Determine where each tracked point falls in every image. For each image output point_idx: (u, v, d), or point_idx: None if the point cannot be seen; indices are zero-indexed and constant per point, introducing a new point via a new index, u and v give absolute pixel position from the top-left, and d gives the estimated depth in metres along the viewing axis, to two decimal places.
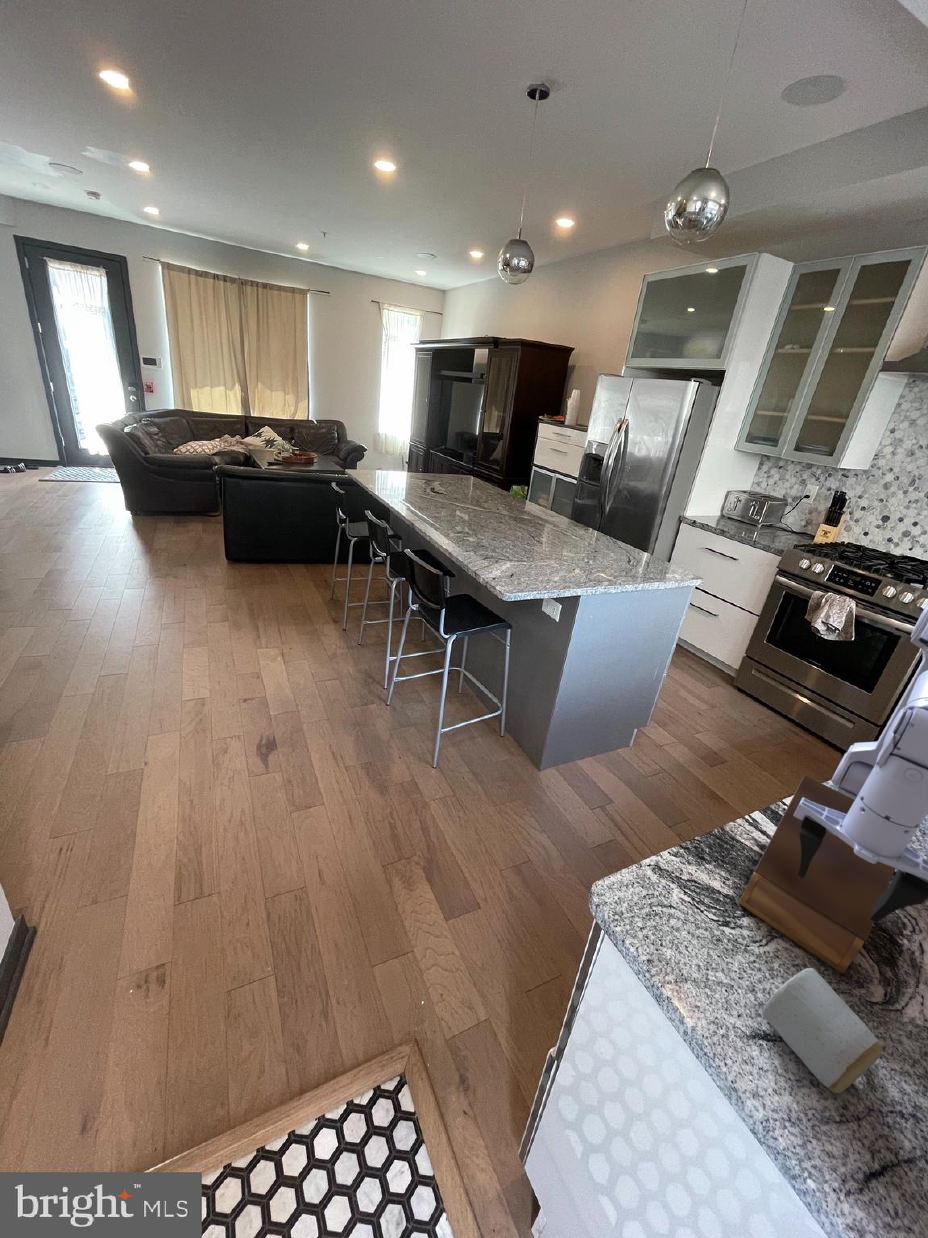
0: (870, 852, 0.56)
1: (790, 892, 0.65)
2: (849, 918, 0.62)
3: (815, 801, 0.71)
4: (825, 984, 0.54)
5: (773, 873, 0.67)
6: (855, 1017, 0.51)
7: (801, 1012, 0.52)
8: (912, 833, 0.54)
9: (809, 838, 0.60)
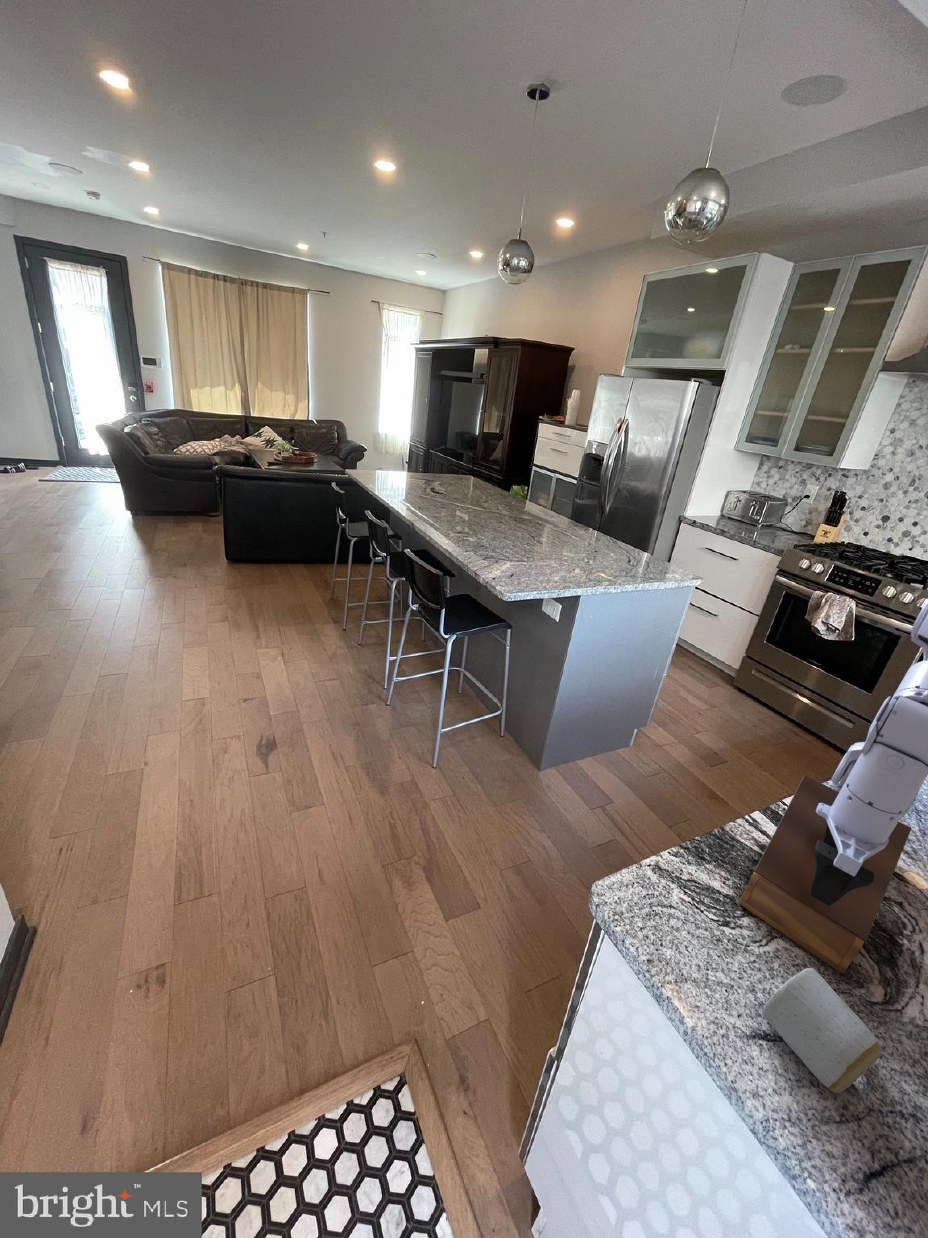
0: (826, 810, 0.61)
1: (790, 892, 0.65)
2: (849, 918, 0.62)
3: (815, 801, 0.71)
4: (825, 984, 0.54)
5: (773, 873, 0.67)
6: (855, 1017, 0.51)
7: (801, 1012, 0.52)
8: (855, 805, 0.57)
9: None
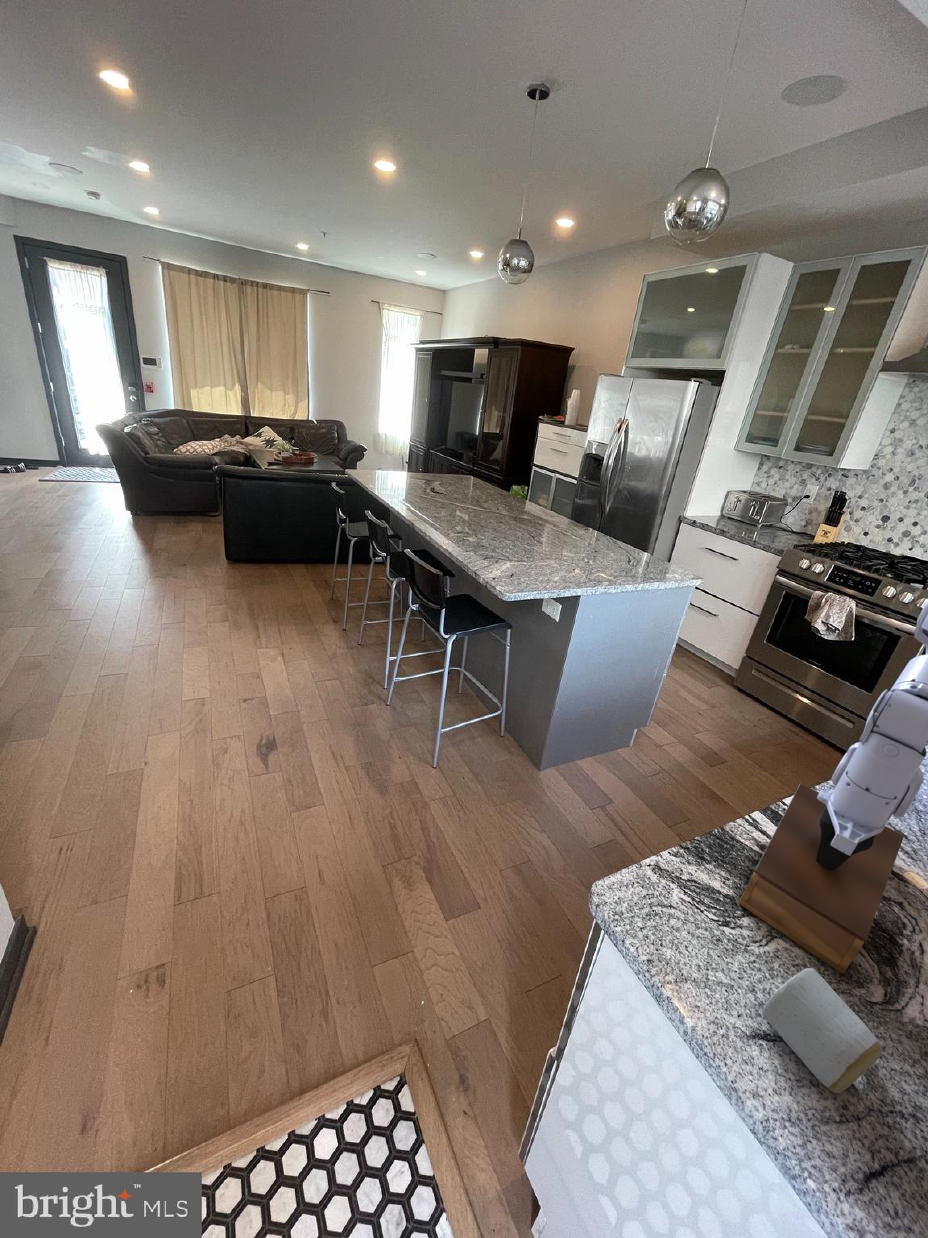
0: (827, 796, 0.65)
1: (790, 892, 0.65)
2: (849, 918, 0.62)
3: (811, 807, 0.73)
4: (825, 984, 0.54)
5: (773, 873, 0.67)
6: (855, 1017, 0.51)
7: (801, 1012, 0.52)
8: (853, 790, 0.61)
9: (824, 807, 0.67)
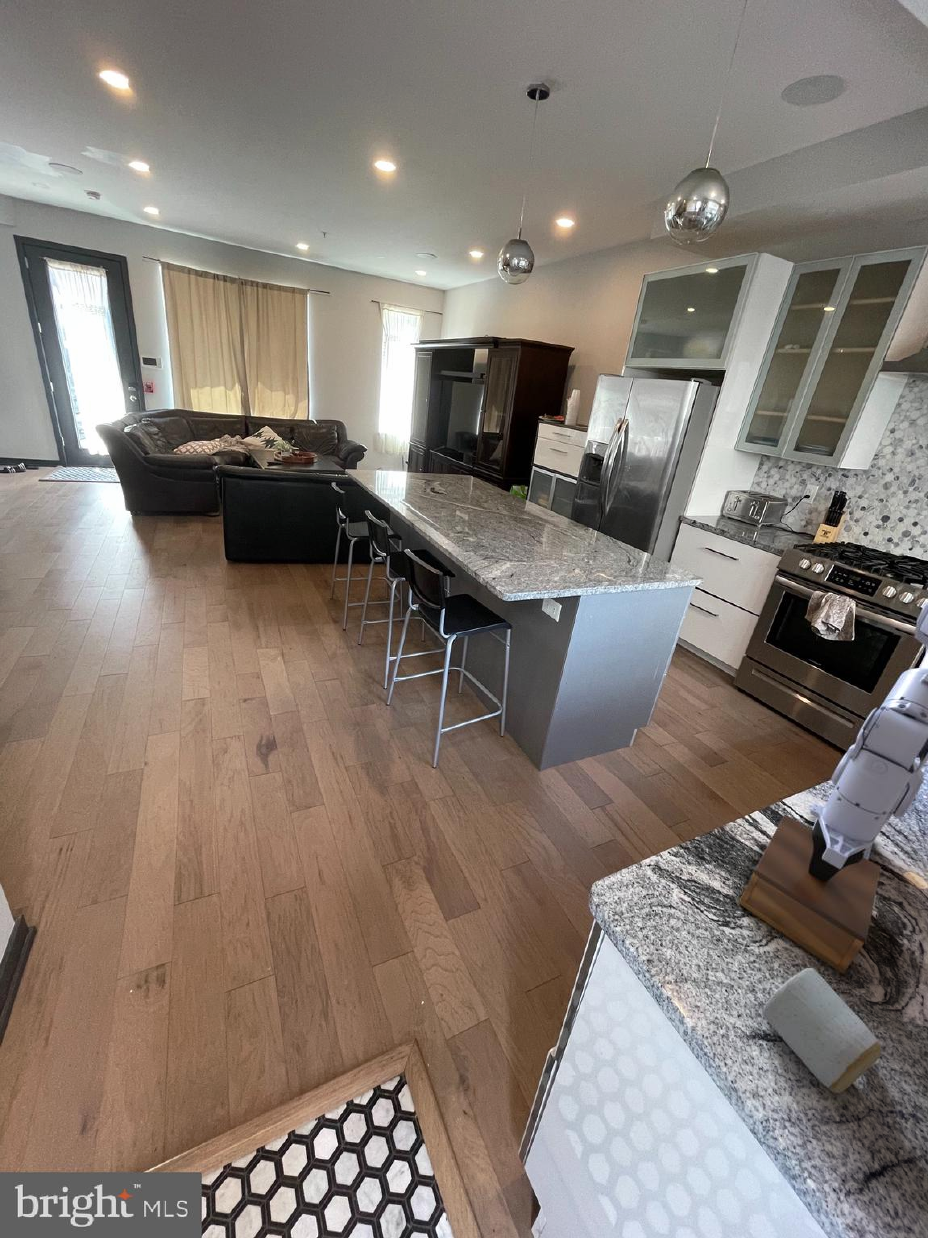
0: (819, 810, 0.67)
1: (790, 891, 0.65)
2: (847, 920, 0.63)
3: (797, 833, 0.76)
4: (825, 984, 0.54)
5: (772, 874, 0.68)
6: (855, 1017, 0.51)
7: (801, 1012, 0.52)
8: (844, 805, 0.63)
9: (816, 820, 0.69)
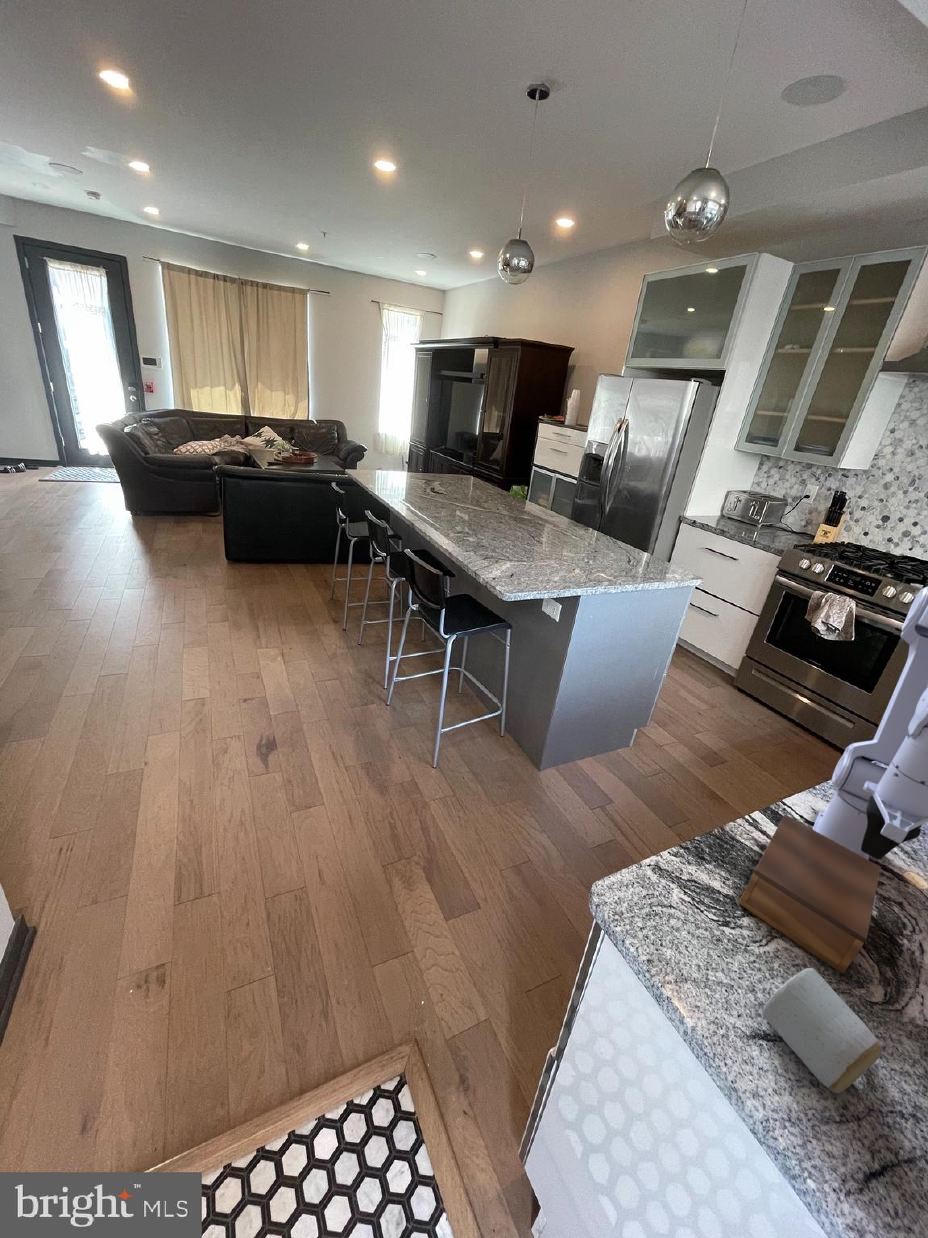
0: (873, 787, 0.67)
1: (790, 891, 0.65)
2: (847, 920, 0.63)
3: (797, 833, 0.76)
4: (825, 984, 0.54)
5: (772, 874, 0.68)
6: (855, 1017, 0.51)
7: (801, 1012, 0.52)
8: (901, 781, 0.63)
9: (869, 798, 0.69)
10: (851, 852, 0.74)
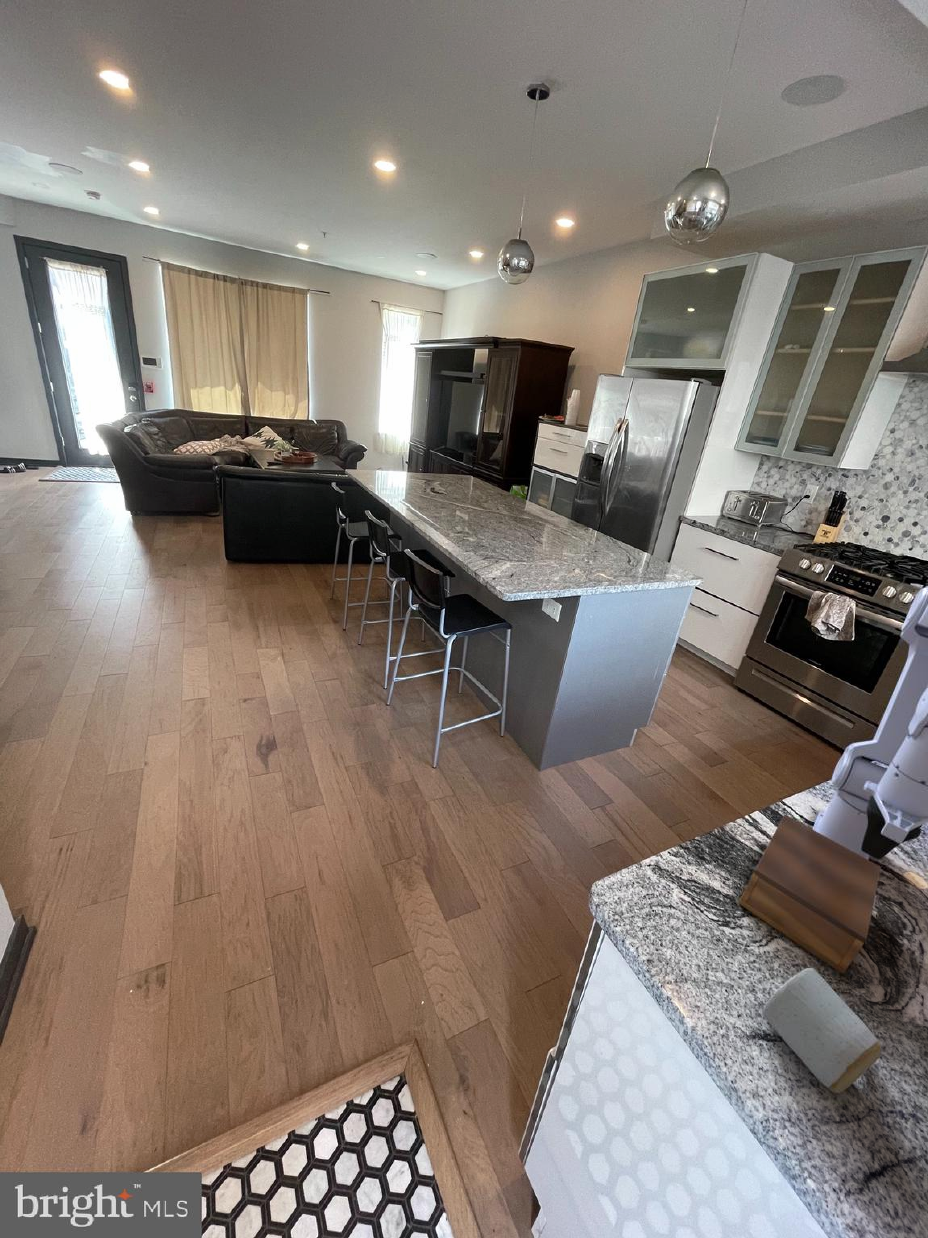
0: (873, 787, 0.67)
1: (790, 891, 0.65)
2: (847, 920, 0.63)
3: (797, 833, 0.76)
4: (825, 984, 0.54)
5: (772, 874, 0.68)
6: (855, 1017, 0.51)
7: (801, 1012, 0.52)
8: (902, 781, 0.63)
9: (869, 798, 0.69)
10: (851, 852, 0.74)
